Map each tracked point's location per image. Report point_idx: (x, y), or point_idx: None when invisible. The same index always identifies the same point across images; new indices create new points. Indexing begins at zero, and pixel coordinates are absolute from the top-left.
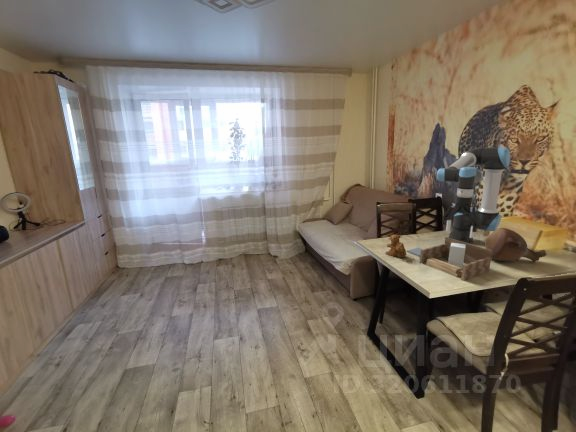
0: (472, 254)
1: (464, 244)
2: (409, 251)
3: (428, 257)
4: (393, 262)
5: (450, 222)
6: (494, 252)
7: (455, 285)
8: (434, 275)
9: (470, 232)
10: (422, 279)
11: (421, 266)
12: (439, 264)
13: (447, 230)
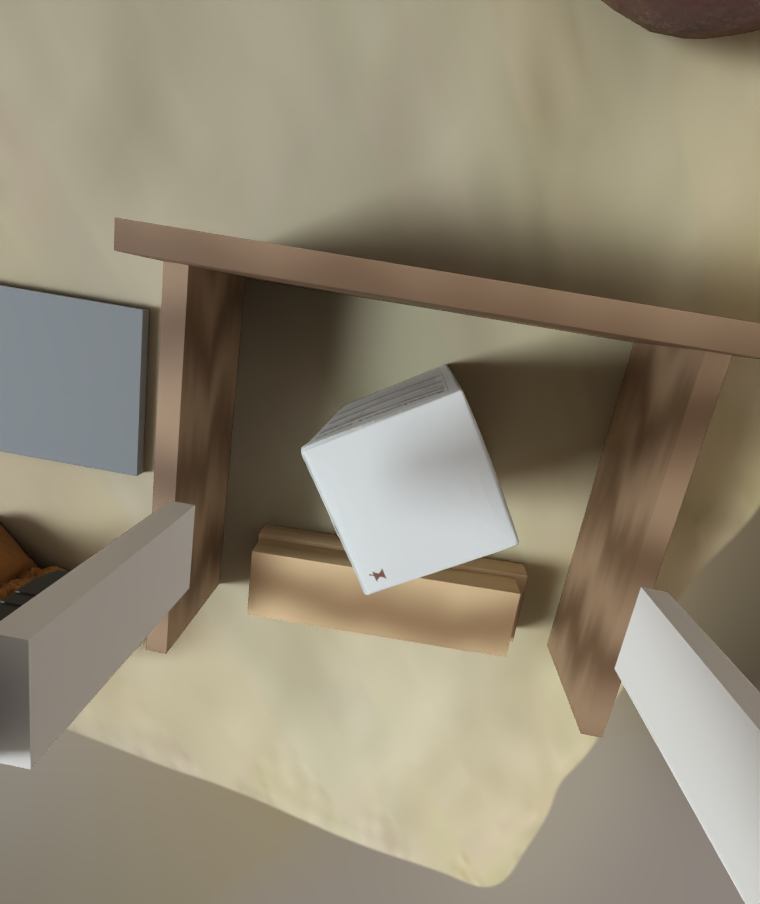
0: (524, 321)
1: (454, 404)
2: (8, 449)
3: (211, 521)
4: (97, 704)
5: (82, 617)
6: (714, 18)
7: (551, 743)
8: (393, 702)
9: (664, 749)
10: (373, 798)
11: (254, 632)
12: (362, 631)
13: (182, 589)
